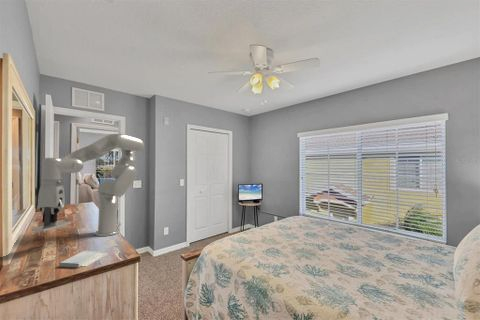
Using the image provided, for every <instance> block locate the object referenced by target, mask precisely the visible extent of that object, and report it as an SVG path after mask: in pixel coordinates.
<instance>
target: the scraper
mask: <svg viewBox="0 0 480 320" xmlns="http://www.w3.org/2000/svg"><path fill="white" fill-rule="evenodd" d="M55 209H56V208H55ZM50 214H51V208H45V214H44V215H45V216H44V222H43V225H39V226H36V227H32V228H31V232H46V231H49V230H53V229H57V228H61V227H64V226H68V225H71V224H72V221H65V220H64V221H62V220H59V221H56V222H53V223H50Z"/></svg>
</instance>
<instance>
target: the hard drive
mask: <svg viewBox="0 0 480 320" xmlns="http://www.w3.org/2000/svg"><path fill="white" fill-rule="evenodd" d="M100 253H102V252H101V250H99V251H98V250H96V251H95V250H83V251H81V252H78V253H77V254H75V255H73V256H70V257H69V258H67V259H64V260H62V261H60V262H59V263H58V267H61V268H62V267H63V268H80V267H83V266H82V265H83V264H85V263H87V262H88V261H90V260H92V259H93V258H95V257H97V256H98V255H100Z"/></svg>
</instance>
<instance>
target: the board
mask: <svg viewBox="0 0 480 320" xmlns="http://www.w3.org/2000/svg"><path fill="white" fill-rule="evenodd" d="M107 255H109V252H101V253H100V255H98V256H97V257H95V258H93V259H92V260H90V261H88V262H87V263H85V264H83V265H82V266H81V267H82V268H83V267H84V268H86V267H88V266H90V265H92V264H93V263H95V262H97V261H98V260H101V259H102V258H103V257H105V256H107Z"/></svg>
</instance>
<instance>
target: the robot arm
mask: <svg viewBox="0 0 480 320" xmlns="http://www.w3.org/2000/svg"><path fill="white" fill-rule="evenodd" d="M144 147H145V143H144V141H143V140H142V139H140V138H138V137H135V136H132V135H127V134H124V133H110V134H108V135H105V136H103V137H101V138H99V139H98V140H97V141H94V142H92V143H91V144H89V145H87V146H84V147H82V148H80V149H76V150H75V151H72V152H70V153H68V154H67V155H65V156H63V157H60V158H59V157H45V158H43V160H42V167H41V185H40V187H39V190H38V195H37V196H38V197H37V206H36V208H37V209H38V210H40V212H41V214H42V223H44V216H45V215H44V214H45V208H51V214H50V223H53V222H58V214H59V212H60V211H62V210H64V209H65V204H66V197H65V196H66V195H65V189H64V185H63V184H64V181H63V173H66V174H67V173H69V174H77V173H79V172H81V171H82V170H83V169H84V163H85V162H88V161H93V160H97V159H99V158H102V157H103V156H105V155H106V154H108V153H109V152H111V151H113V150H114V149H120V152H121V157H120V158H119V160H118V162H117V163H116V165H115V166H114V167H113V168H112V170H111V171H110V177H111V178H113V179H104V180H102V181H100V183H99V184H98V187H97V192H98V193H97V194H98V221H97V223H98V224H97V230H96V231H94V235H95V236H97V237H108V236H114V235H116V234H119V233H120V231H121V230H120V229H119V228H118V227H120V226H121V225H122V223H121V222H118V210H119V209H118V205H119V204H118V203H119V201H118V198H119V197H123V196H125V194H126V193H127V192H128V190H130V187H131V186H132V184H133V183H134V182H135V180H136V177H137V174H138V173H137V169H136V167H135V166H134V164H135V163H136V155H135V153H138V152H141V151H143V150H144ZM55 208H56V209H55ZM117 230H118V231H119V233H118V231H117Z"/></svg>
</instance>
